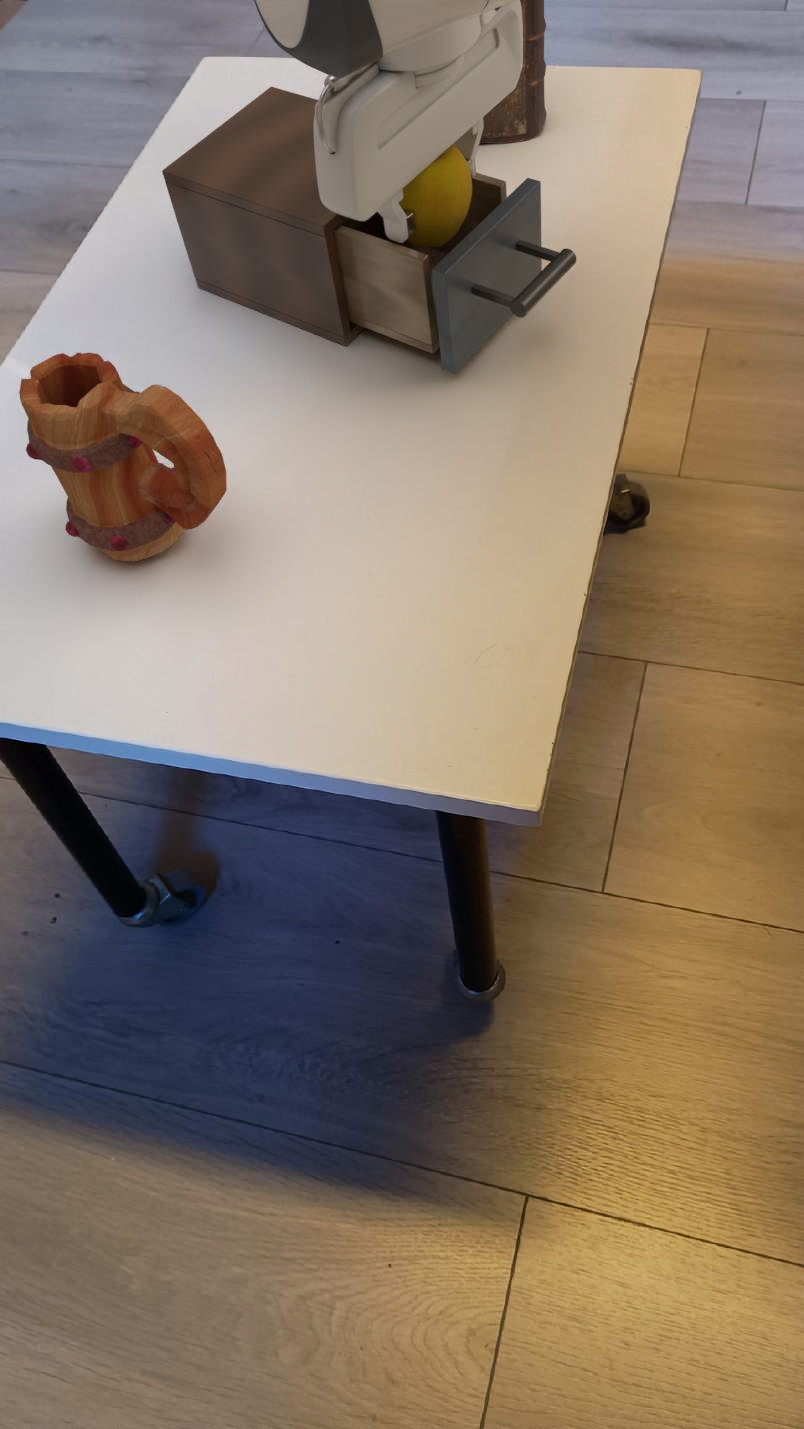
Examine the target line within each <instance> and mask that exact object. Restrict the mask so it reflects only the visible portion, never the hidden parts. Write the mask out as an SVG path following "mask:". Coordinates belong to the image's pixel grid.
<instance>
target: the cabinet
mask: <svg viewBox="0 0 804 1429" xmlns="http://www.w3.org/2000/svg"><path fill="white" fill-rule="evenodd" d="M318 101H319V99H316V98H312V97H309V96H306V95H302V94H299V93H295V92H292V91H288V90H285V89H282V88H278V87H274V86H270V87H268V88H267V89H266V90H265V91H263V92H262V93H260V94H259V95H258V96H257V97H255V98H254V99H253V100H251V101H250V102H248V104H246V105H245V106H244V107H243V108H241V109H240V110H238V111H237V112H236V113H235V114H233V115H232V116H231V117H229V118H227V120H226V121H224V122H223V123H222V124H220V125H219V126H218V127H217V128H215V129H214V130H213V131H212V132H210V133H209V134H208V135H206V136H205V137H203V138H202V139H201V140H200V141H198V142H197V143H196V144H195V145H194V146H192V147H190V149H189V148H188V150H187V151H185V152H184V153H183V154H182V155H180V156H179V157H178V158H176V159H175V160H174V161H172V162H171V163H170V164H169V165H167V166H166V167H165V168H163V169H162V170H161V174H162V175H163V179H164V183H165V187H166V189H167V192H168V196H169V200H170V202H171V206H172V208H173V212H174V215H175V219H176V222H177V224H178V228H179V232H180V234H181V238H182V241H183V244H184V247H185V251H186V254H187V257H188V260H189V264H190V267H191V271H192V273H193V277H194V279H195V283H196V286H197V288H199V289H202V290H204V291H206V292H208V293H212V294H214V295H217V296H219V297H221V298H224V299H227V300H229V301H231V302H234V303H236V304H239V305H241V306H244V307H247V308H249V309H251V310H254V311H257V312H259V313H262V314H265V315H267V316H269V317H271V318H274V319H276V320H279V321H281V322H284V323H286V324H289V325H292V326H294V327H296V328H300V329H302V330H304V331H306V332H309V333H311V334H314V335H317V336H319V337H321V338H324V339H327V340H329V341H332V342H335V343H337V344H340V345H342V346H344V347H347V346H348V345H349V344H350V343H351V342H352V341H354V340H355V338H356V337H357V336H358V335H359V334H361V333H362V332H363V331H364V330H365V329H366V328H365V327H362V326H360V325H357V324H355V323H352V322H349V319H348V314H347V308H346V303H345V297H344V292H343V287H342V281H341V276H340V270H339V265H338V259H337V254H336V248H335V243H334V238H333V232H332V231H333V230H334V229H335V228H336V227H337V226H338V225H339V224H341V223H342V222H343V221H344V220H345V219H346V218H347V217H344V216H342V215H339V214H337V213H334V212H332V211H331V210H329V209H328V208H327V207H325V206H324V205H323V204H322V202H321V199H320V195H319V190H318V182H317V174H316V164H315V152H314V115H315V105H316V103H317V102H318Z"/></svg>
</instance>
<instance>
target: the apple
mask: <svg viewBox="0 0 804 1429" xmlns="http://www.w3.org/2000/svg"><path fill="white" fill-rule="evenodd" d="M402 190H403V199H402V200H401V201H400V202H398V203H399V205H400V206H401V208H402V209H403V210H409V211H412V212H414V217H415V222H414V225H415V226H416V230H415V232H414V233H413V234H412V235H411V236H410V237H409V238H408V239H407V241H408V242H409V243H410V244H412V245H414V246H416V247H423V248H427V247H441V246H443V245H445V244H446V243H447V242H448V241H449V240H450V239H451V238H453V237H454V236H455V235H456V233H457V232H458V231H459V229H460V227H461V225H462V223H463V222H464V220H465V218H466V215H467V213H468V210H469V206H470V202H471V197H472V179H471V173H470V169H469V166H468V163H467V161H466V160H465V158H464V156H463V155H462V153H461V152H460V151H459V150H458V149H457V148H456V147H455V146H454V145H451V146H450V147H449V148H448V149H447V150H445V151H444V152H443V153H442V154H441V155H440V156H439V157H438V158H436V159H435V160H434V161H433V162H432V163H431V164H430V165H429V166H428V167H426V168H425V169H424V170H423V171H422V172H421V173H420V174H419V175H417V176H416V177H415V178H414V179H413V180H412V181H411V182H410V183H408V184H407V185H406V186H405V187H404V188H403V189H402Z"/></svg>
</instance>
